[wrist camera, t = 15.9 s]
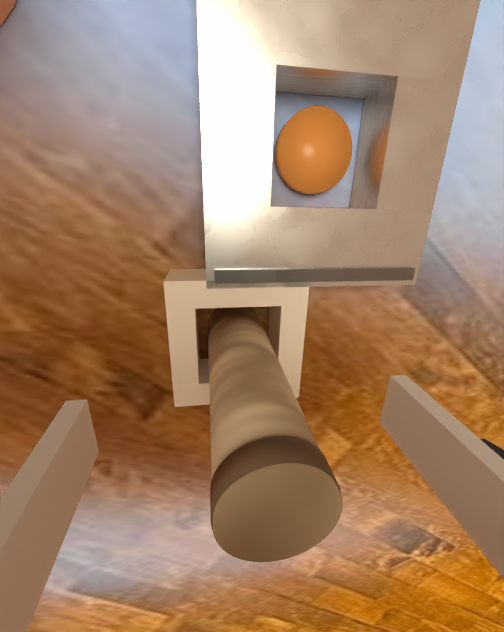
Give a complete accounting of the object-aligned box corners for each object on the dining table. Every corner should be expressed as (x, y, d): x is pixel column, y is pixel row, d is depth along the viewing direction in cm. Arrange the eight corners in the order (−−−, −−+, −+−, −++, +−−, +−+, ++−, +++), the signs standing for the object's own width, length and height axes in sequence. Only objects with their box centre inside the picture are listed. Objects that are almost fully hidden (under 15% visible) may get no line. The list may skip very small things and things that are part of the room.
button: (272, 192, 19) (276, 192, 19) (276, 107, 18) (280, 102, 17) (340, 195, 20) (346, 194, 19) (350, 113, 18) (357, 108, 18)
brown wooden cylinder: (208, 351, 23) (212, 572, 9) (206, 301, 22) (208, 476, 8) (259, 348, 24) (335, 552, 10) (260, 300, 22) (352, 460, 8)
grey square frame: (206, 275, 21) (206, 290, 17) (195, -26, 15) (193, -95, 12) (385, 273, 23) (418, 285, 19) (435, 7, 17) (494, -43, 14)
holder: (178, 379, 24) (174, 407, 20) (169, 269, 20) (163, 281, 17) (286, 372, 25) (298, 397, 22) (294, 267, 22) (310, 279, 18)
